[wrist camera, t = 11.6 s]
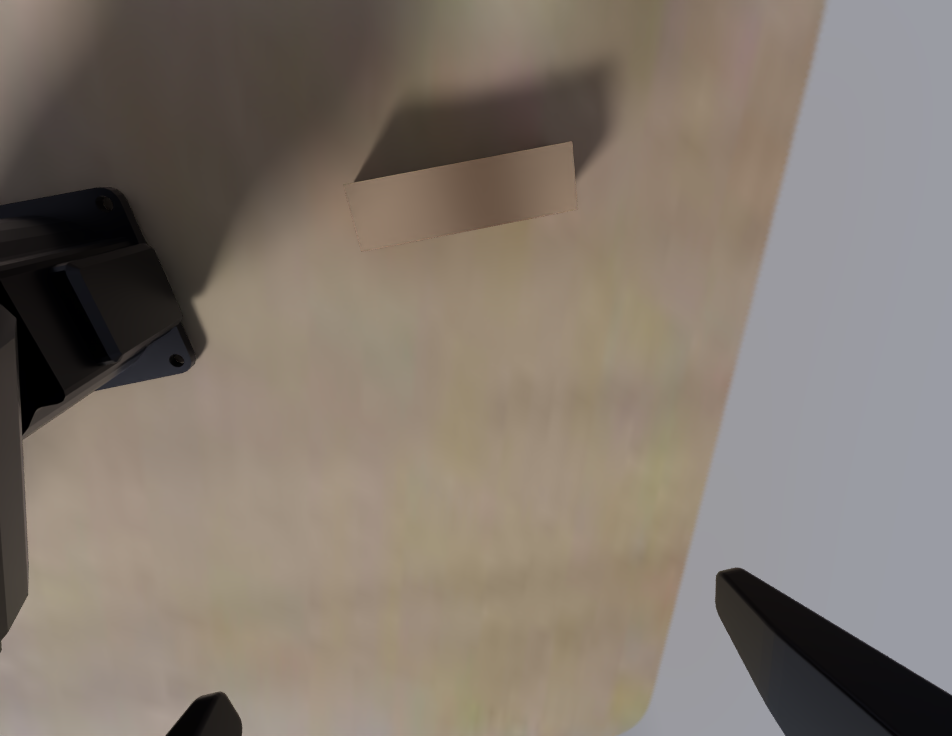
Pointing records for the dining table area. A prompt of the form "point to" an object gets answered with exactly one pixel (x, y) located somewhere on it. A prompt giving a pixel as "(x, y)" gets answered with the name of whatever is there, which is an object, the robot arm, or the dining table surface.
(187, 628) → the dining table surface
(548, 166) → the lens cradle
